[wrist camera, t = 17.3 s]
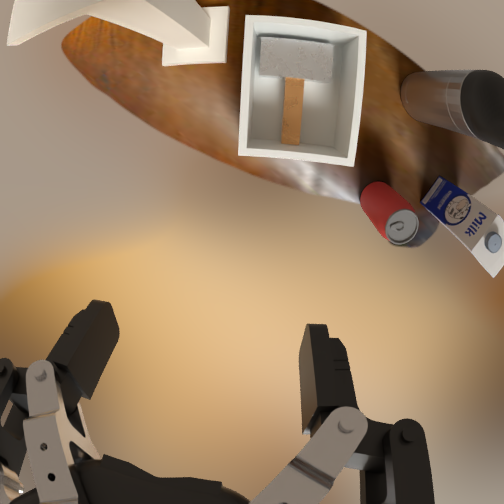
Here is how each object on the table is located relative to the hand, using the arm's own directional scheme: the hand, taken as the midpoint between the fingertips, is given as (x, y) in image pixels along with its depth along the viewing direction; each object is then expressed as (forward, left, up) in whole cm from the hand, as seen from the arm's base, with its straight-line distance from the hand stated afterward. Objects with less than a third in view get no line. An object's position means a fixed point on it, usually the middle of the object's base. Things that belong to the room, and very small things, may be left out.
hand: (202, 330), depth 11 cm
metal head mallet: (-5, -10, -37) cm, 39 cm away
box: (-6, -10, -38) cm, 40 cm away
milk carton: (-36, +4, -38) cm, 53 cm away
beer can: (-22, +6, -38) cm, 45 cm away
